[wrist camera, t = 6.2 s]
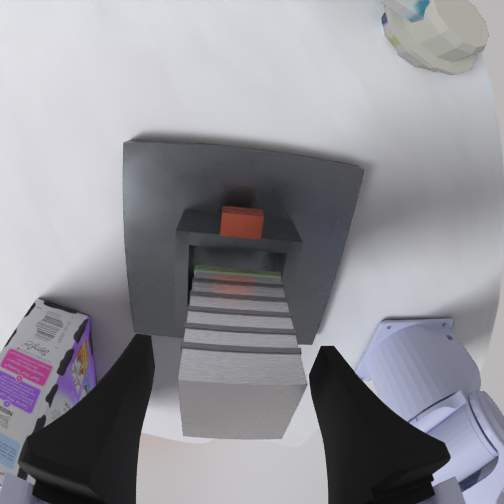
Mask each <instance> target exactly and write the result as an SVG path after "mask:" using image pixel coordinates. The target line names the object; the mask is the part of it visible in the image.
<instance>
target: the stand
mask: <svg viewBox="0 0 504 504" xmlns="http://www.w3.org/2000/svg"><path fill="white" fill-rule="evenodd" d="M363 172H364V169H362V168H360V167H359V166H355V165H351V164H346V163H341V162H335V161H330V160H325V159H319V158H313V157H308V156H301V155H295V154H289V153H282V152H275V151H267V150H260V149H252V148H243V147H234V146H224V145H213V144H201V143H186V142H169V141H142V140H128V141H126V142H124V143H123V219H124V239H125V254H126V266H127V277H128V286H129V295H130V304H131V311H132V319H133V325H134V332H136V333H144V334H152V335H160V336H169V337H179V338H184V325H185V322H187V307H188V305H189V304H190V290H191V291H192V279H193V277H194V269H195V265H203V266H214V267H226V268H238V269H250V270H262V271H275V272H281V276H282V277H281V282H282V285H284V287H285V288H284V293H285V297H286V298H287V299H288V304H287V305H288V309H289V312H291V314H292V319H291V320H292V324H293V328H294V329H296V333H297V334H296V340H297V344H305V345H312V344H313V341H314V338H315V335H316V333H317V330H318V327H319V324H320V321H321V318H322V315H323V313H324V310H325V307H326V304H327V301H328V298H329V295H330V292H331V288H332V285H333V282H334V279H335V276H336V273H337V269H338V266H339V263H340V259H341V256H342V253H343V249H344V246H345V242H346V239H347V235H348V232H349V228H350V224H351V221H352V217H353V213H354V209H355V205H356V201H357V197H358V193H359V189H360V185H361V181H362V177H363Z"/></svg>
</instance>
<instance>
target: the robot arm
mask: <svg viewBox="0 0 504 504" xmlns="http://www.w3.org/2000/svg"><path fill="white" fill-rule="evenodd" d="M453 323H454V320H453V319H452V318H444V319H421V320H385V321H382V322H381V323H380V324H379V326H378V328H377V330H376V332H375V334H374V336H373V338H372V340H371V342H370V344H369V346H368V348H367V350H366V352H365V354H364V356H363V358H362V359H361V361H360V363H359V365H358V367H357V369H356V371H355V372H354V370H353V369H352V368H351V367H350V365H349V364H348V363H347V362H346V361H345V359H344V358H343V357H342V355H341V354H340V353H339V352H338V350H337V349H336V348H335V347H334V346H321V347H320V350H319V352H318V355H317V357H316V360H315V362H314V364H313V367H312V369H311V372H310V374H309V381H310V389H311V396H312V400H313V404H314V407H315V411H316V415H317V419H318V422H319V426H320V430H321V434H322V438H323V443H324V449H325V457H326V466H327V477H328V504H504V493H503V489H504V416H503V415H502V413H501V411H500V410H499V408H498V407H497V405H496V404H495V402H494V401H493V400H492V398H491V397H490V396H489V395H488V394H487V393H486V392H484V391H480V386H481V379H480V373H479V369H478V367H477V365H476V363H475V362H474V360H473V359H472V357H471V356H470V354H469V353H468V352H467V350H466V349H465V347H464V346H463V345H462V343H461V342H460V340H459V339H458V338H457V336H456V335H455V333H454V332H453V331H452V329H451V327H452V325H453ZM154 370H155V364H154V357H153V349H152V340H151V336H150V335H142V334H136V335H135V336H134V337H133V339H132V340H131V342H130V343H129V345H128V346H127V348H126V349H125V350H124V352H123V353H122V354H121V356H120V357H119V358H118V360H117V361H116V362H115V363H114V365H113V366H112V367H111V369H110V370H109V371H108V372H107V373H106V374H105V376H104V377H103V378H102V379H101V380H100V381H99V382H98V383H97V385H96V386H95V387H94V388H93V389H92V390H91V391H90V392H89V393H88V394H87V395H86V396H85V397H83V398H82V399H81V400H80V401H79V402H78V403H77V404H75V405H74V406H73V407H72V408H71V409H69V410H68V411H67V412H66V413H64V414H63V415H61V416H60V417H59V418H57V419H56V420H54V421H53V422H51V423H50V424H48V425H47V426H45V427H43V428H42V429H40V430H38V431H36V432H34V433H33V434H31V435H29V436H27V438H26V440H25V442H24V444H23V447H22V449H21V452H20V455H19V459H18V462H17V463H18V465H19V466H20V467H21V468H22V469H23V470H24V471H25V472H26V473H28V474H29V475H30V476H31V477H33V478H34V479H35V480H36V481H35V485H33V484H31V483H29V482H27V481H25V480H23V479H21V478H19V477H17V476H15V475H13V474H11V473H9V472H5V476H4V479H3V483H2V487H1V490H0V504H136V475H137V462H138V451H139V441H140V435H141V430H142V426H143V421H144V417H145V413H146V409H147V406H148V402H149V398H150V394H151V390H152V384H153V377H154ZM368 380H372V381H373V383H374V386H375V388H376V391H377V393H378V395H379V398H380V399H379V398H378V397H377V396H376V395H375V394H374V393H373V392H372V391H371V390H370V389H369V388H368V387H367V385H366V384H365V383H364V382H363V381H368Z"/></svg>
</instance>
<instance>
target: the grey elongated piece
mask: <svg viewBox="0 0 504 504" xmlns="http://www.w3.org/2000/svg"><path fill="white" fill-rule="evenodd" d="M377 1H378V2H380V3H382V4H383V5H385V7H384V9H385V13H384V15H383V17H382V18H381V19H382V24H383V29H384V33H385V36H387V38H388V39H389V40H390V41H391V43H392V44H393V45H394V47H395V48H396V49H397V51H398V55H399V56H400V57H402V58H403V59H405V60H406V61H408V62H409V63H410V64H412V65H413V66H414V67H421V68H424V69H428V70H432V71H433V72H436V71H439V72H442V73H446V74H449V75H455V74H459V73H462V72H464V71H467V70H470V69H472V67H473V64H474V61H475V58H476V56H477V53H479V52H482V51H483V50H484V48H485V46H486V43H487V40H488V37H489V34H488V30H487V26H486V23H485V21H484V19H483V17H482V16H481V14H480V13H479V11H478V10H477V9H476V7H475V6H474V5H473V4H472V3H470V2H469V1H468V0H377Z"/></svg>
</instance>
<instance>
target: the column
mask: <svg viewBox="0 0 504 504" xmlns="http://www.w3.org/2000/svg"><path fill="white" fill-rule="evenodd" d="M281 277H282V276H281V272H275V271H262V270H250V269H238V268H226V267H214V266H203V265H195V269H194V277H193V279H192V291H191V290H190V304H189V305H188V307H187V322H185V325H184V341H183V342H182V344H181V362H180V369H179V376H178V386H179V398H180V410H181V420H182V430H183V436H189V437H201V438H217V439H282V437H283V435H284V433H285V431H286V429H287V427H288V425H289V423H290V421H291V419H292V417H293V415H294V413H295V410H296V408H297V406H298V404H299V402H300V400H301V398H302V395H303V393H304V391H305V389H306V387H307V381H306V376H305V372H304V368H303V364H302V360H301V353H302V352H301V348H298V344H297V340H296V334H297V333H296V329H294V328H293V324H292V320H291V319H292V314H291V312H289V309H288V305H287V304H288V299H287V298H286V297H285V293H284V288H285V287H284V285H282V282H281Z"/></svg>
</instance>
